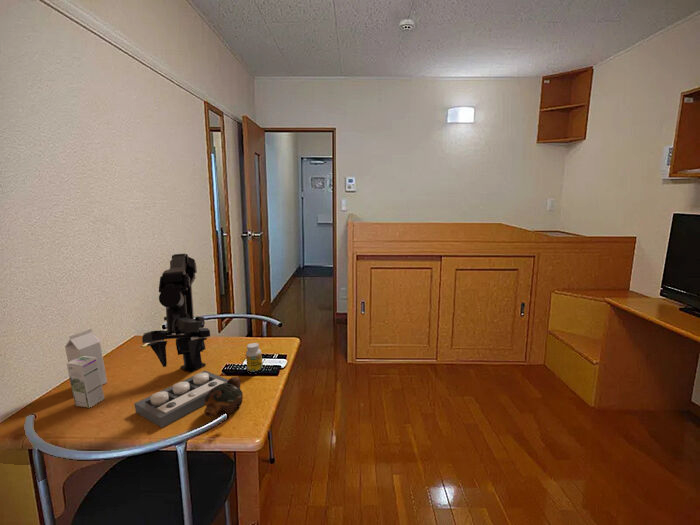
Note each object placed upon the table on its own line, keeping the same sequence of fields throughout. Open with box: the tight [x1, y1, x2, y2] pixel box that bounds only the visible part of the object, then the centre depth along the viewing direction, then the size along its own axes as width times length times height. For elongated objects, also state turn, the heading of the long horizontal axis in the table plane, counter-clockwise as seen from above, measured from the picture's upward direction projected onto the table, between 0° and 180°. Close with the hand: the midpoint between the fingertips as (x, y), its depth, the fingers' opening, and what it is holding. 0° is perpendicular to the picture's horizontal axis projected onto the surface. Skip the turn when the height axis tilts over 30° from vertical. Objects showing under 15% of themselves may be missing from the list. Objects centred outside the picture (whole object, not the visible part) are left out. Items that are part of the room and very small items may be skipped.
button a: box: [150, 390, 169, 406], centre depth 119 cm, size 5×5×2 cm
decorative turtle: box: [203, 376, 244, 418], centre depth 117 cm, size 10×15×8 cm, turn 167°
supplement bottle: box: [245, 342, 264, 372], centre depth 141 cm, size 5×5×10 cm
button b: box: [172, 381, 190, 395], centre depth 124 cm, size 5×5×2 cm
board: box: [134, 370, 229, 428], centre depth 123 cm, size 14×24×4 cm, turn 145°
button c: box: [192, 372, 209, 386], centre depth 130 cm, size 5×5×2 cm
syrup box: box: [66, 356, 105, 409], centre depth 123 cm, size 6×6×14 cm
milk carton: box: [64, 328, 108, 386], centre depth 133 cm, size 7×7×19 cm
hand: (179, 364), depth 118 cm, fingers open, 9 cm apart
